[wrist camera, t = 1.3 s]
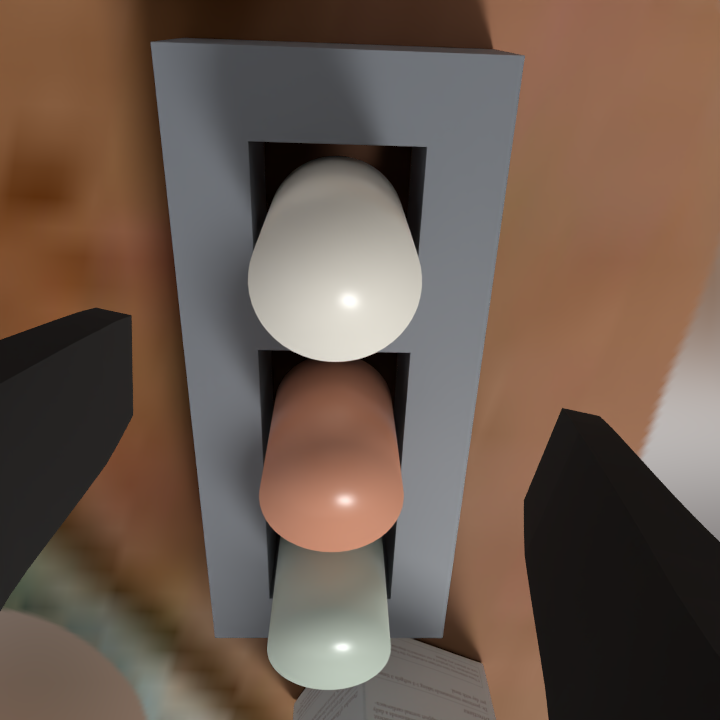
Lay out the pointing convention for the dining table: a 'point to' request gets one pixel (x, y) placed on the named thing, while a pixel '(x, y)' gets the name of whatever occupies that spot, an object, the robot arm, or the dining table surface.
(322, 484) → the plug rust
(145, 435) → the dining table surface
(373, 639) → the plug sage
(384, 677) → the supplement box
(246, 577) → the socket board
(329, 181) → the plug cream
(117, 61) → the dining table surface
